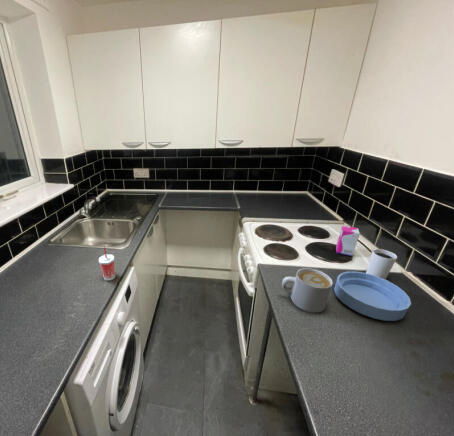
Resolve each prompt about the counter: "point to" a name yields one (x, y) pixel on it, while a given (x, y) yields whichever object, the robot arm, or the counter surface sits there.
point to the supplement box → (347, 240)
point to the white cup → (381, 263)
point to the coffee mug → (309, 289)
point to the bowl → (372, 296)
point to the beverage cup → (107, 266)
